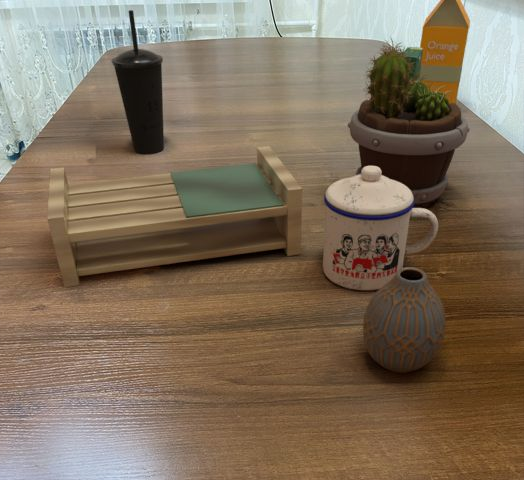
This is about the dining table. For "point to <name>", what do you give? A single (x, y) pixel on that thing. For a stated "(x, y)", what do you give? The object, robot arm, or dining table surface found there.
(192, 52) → the dining table surface
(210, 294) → the dining table surface
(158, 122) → the drinking cup
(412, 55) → the coffee box
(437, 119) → the flowerpot
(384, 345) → the vase
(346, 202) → the teacup with lid
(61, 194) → the rack
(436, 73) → the orange juice
